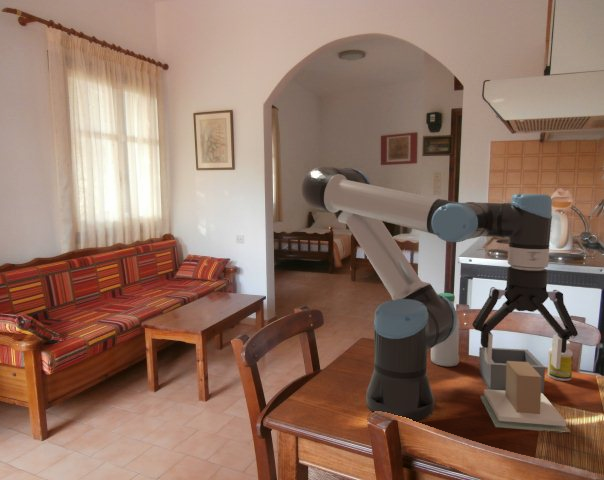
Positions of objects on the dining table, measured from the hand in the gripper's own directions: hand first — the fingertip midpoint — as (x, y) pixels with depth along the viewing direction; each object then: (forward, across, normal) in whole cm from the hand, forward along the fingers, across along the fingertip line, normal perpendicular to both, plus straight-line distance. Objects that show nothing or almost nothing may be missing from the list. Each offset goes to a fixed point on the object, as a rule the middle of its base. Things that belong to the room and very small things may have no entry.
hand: (521, 364), depth 91 cm
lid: (+11, +1, 0) cm, 11 cm away
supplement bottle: (+11, +17, +22) cm, 29 cm away
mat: (+11, +1, 0) cm, 11 cm away
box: (+11, +3, +16) cm, 19 cm away
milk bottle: (+12, -11, +28) cm, 32 cm away
